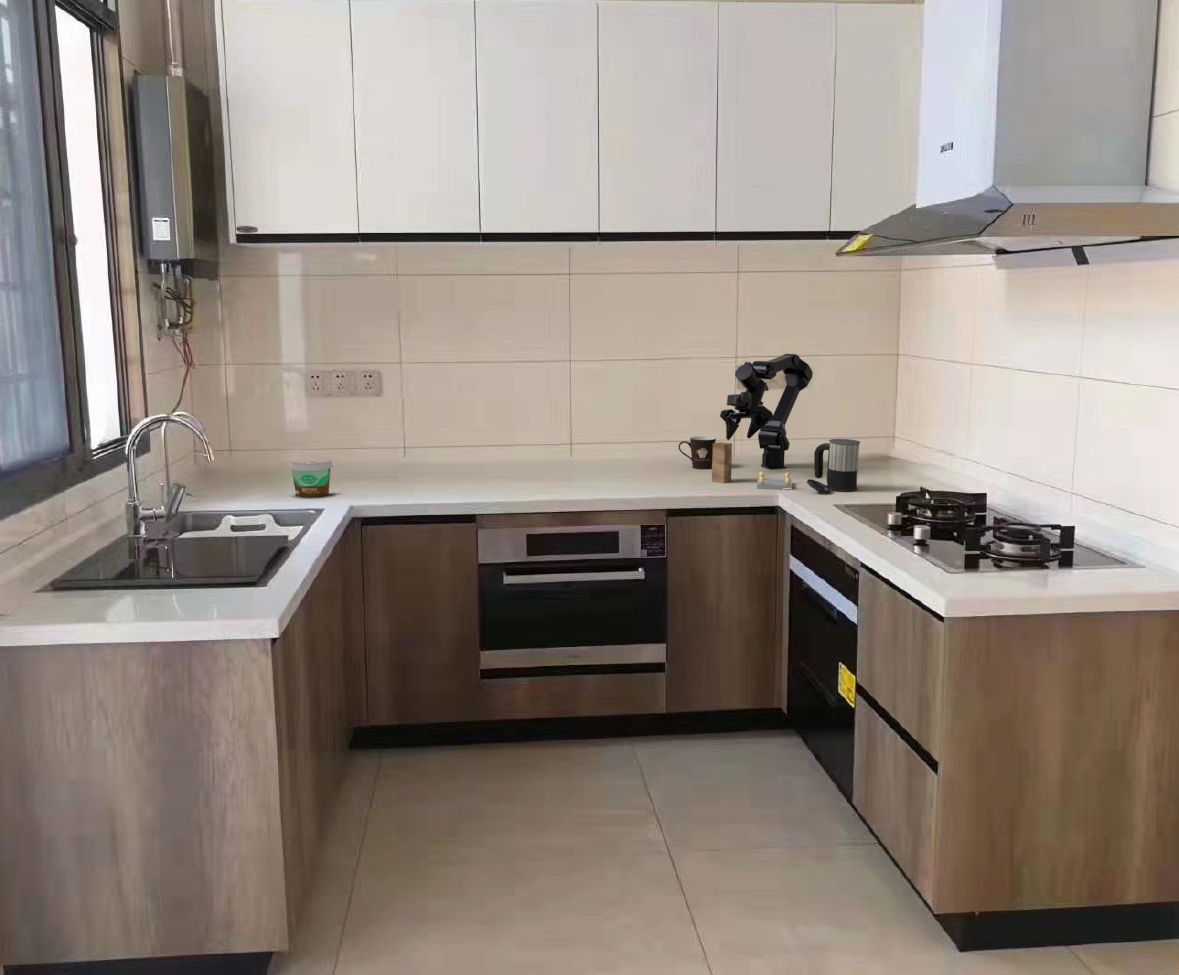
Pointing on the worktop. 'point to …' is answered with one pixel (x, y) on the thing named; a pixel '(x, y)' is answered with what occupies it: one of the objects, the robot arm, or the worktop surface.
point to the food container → (311, 478)
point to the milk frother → (837, 466)
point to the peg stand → (774, 482)
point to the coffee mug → (701, 451)
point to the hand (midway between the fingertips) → (737, 438)
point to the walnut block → (721, 462)
